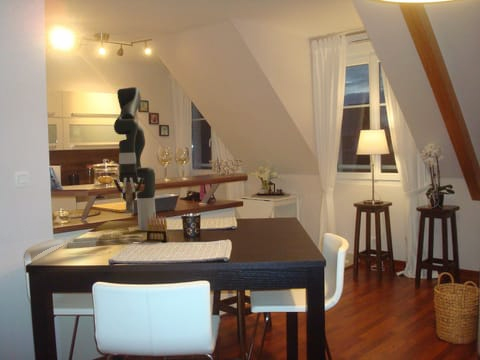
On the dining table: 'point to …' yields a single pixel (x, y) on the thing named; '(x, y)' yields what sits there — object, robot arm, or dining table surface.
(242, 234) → the dining table surface
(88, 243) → the tray
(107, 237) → the chip
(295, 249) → the dining table surface
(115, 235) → the chip
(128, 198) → the rake tool
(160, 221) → the ammunition clip
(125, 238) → the slot channel
